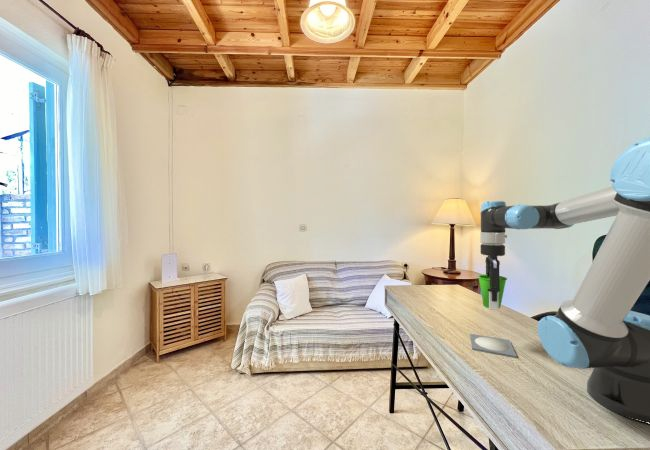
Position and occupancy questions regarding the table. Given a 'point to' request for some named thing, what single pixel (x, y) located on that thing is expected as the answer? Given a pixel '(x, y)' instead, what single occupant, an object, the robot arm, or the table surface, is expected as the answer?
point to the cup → (485, 286)
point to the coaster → (492, 345)
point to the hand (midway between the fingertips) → (491, 305)
